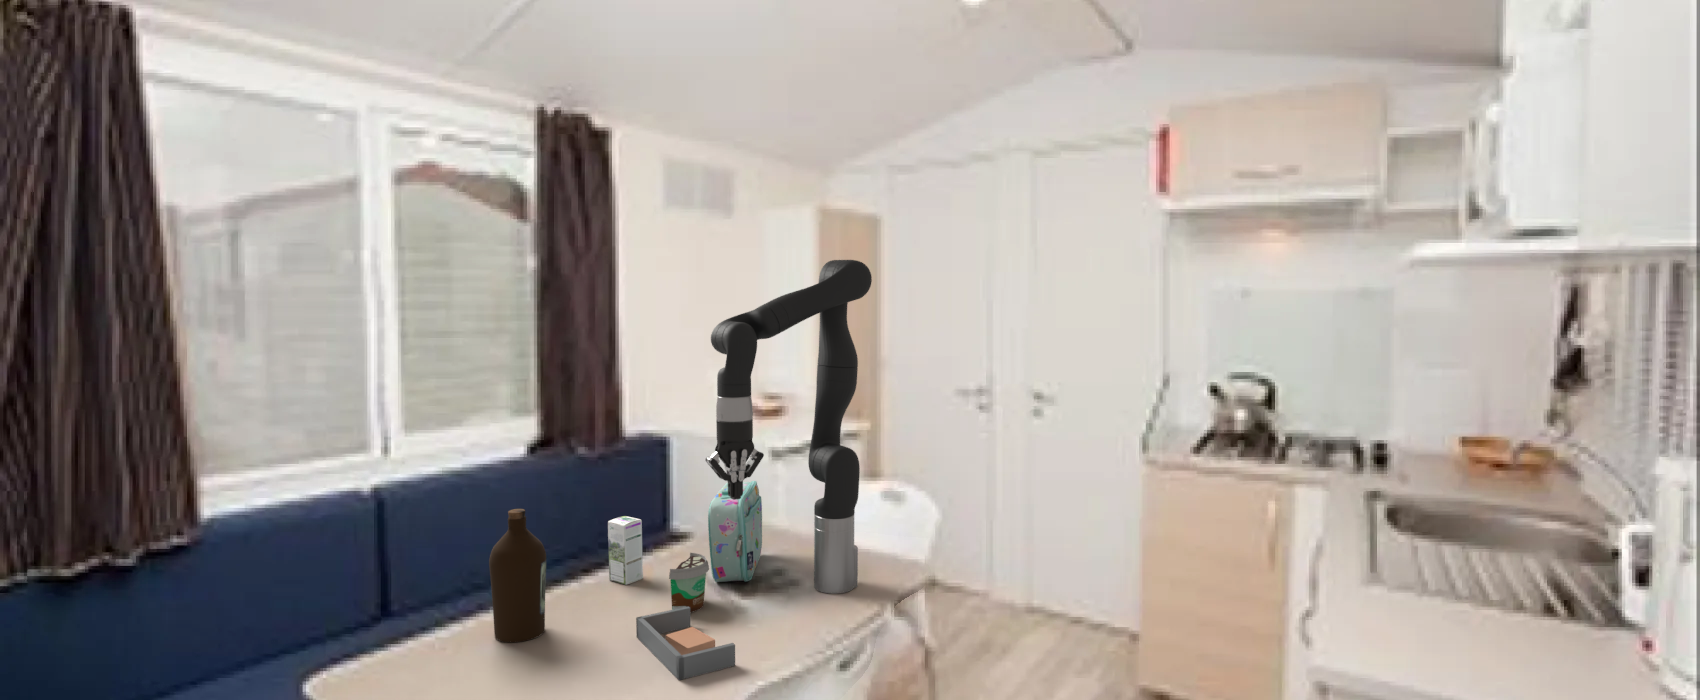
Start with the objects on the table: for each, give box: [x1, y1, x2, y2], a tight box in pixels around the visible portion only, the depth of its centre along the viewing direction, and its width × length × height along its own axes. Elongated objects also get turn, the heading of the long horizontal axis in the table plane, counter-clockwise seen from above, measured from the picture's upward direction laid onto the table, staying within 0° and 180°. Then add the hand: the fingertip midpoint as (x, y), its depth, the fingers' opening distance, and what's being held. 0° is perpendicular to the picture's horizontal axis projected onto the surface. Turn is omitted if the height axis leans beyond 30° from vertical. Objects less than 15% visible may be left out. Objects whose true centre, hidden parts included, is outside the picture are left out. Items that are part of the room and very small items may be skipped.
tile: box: [665, 626, 716, 655], centre depth 167 cm, size 6×8×3 cm
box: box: [635, 606, 736, 681], centre depth 167 cm, size 11×22×4 cm, turn 33°
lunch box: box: [707, 480, 763, 583], centre depth 212 cm, size 27×10×21 cm, turn 179°
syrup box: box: [607, 515, 644, 586], centre depth 205 cm, size 6×6×14 cm
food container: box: [668, 552, 710, 613], centre depth 189 cm, size 12×6×10 cm, turn 168°
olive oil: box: [488, 508, 547, 643], centre depth 174 cm, size 11×11×25 cm
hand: (735, 498), depth 184 cm, fingers closed
